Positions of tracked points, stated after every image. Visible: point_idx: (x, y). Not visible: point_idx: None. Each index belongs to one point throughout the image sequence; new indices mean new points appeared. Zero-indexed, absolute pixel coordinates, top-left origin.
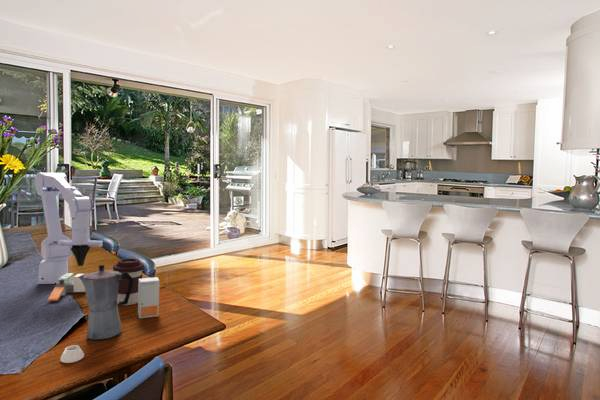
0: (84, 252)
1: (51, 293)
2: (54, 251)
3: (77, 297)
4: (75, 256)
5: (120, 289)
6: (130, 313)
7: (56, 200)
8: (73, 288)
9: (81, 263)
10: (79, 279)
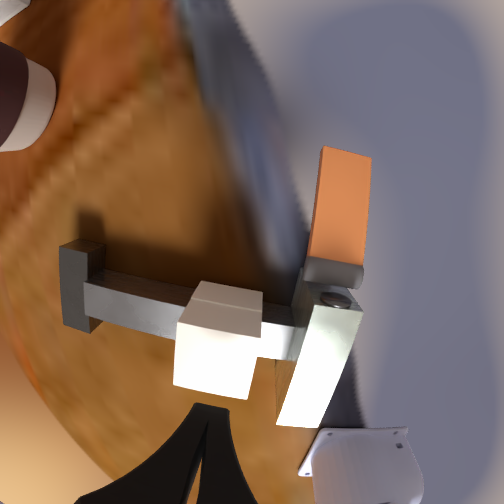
0: (108, 485)
1: (367, 202)
2: None
3: (231, 214)
4: (238, 478)
5: (7, 45)
6: (41, 9)
7: None
8: (265, 312)
9: (190, 413)
10: (223, 320)
